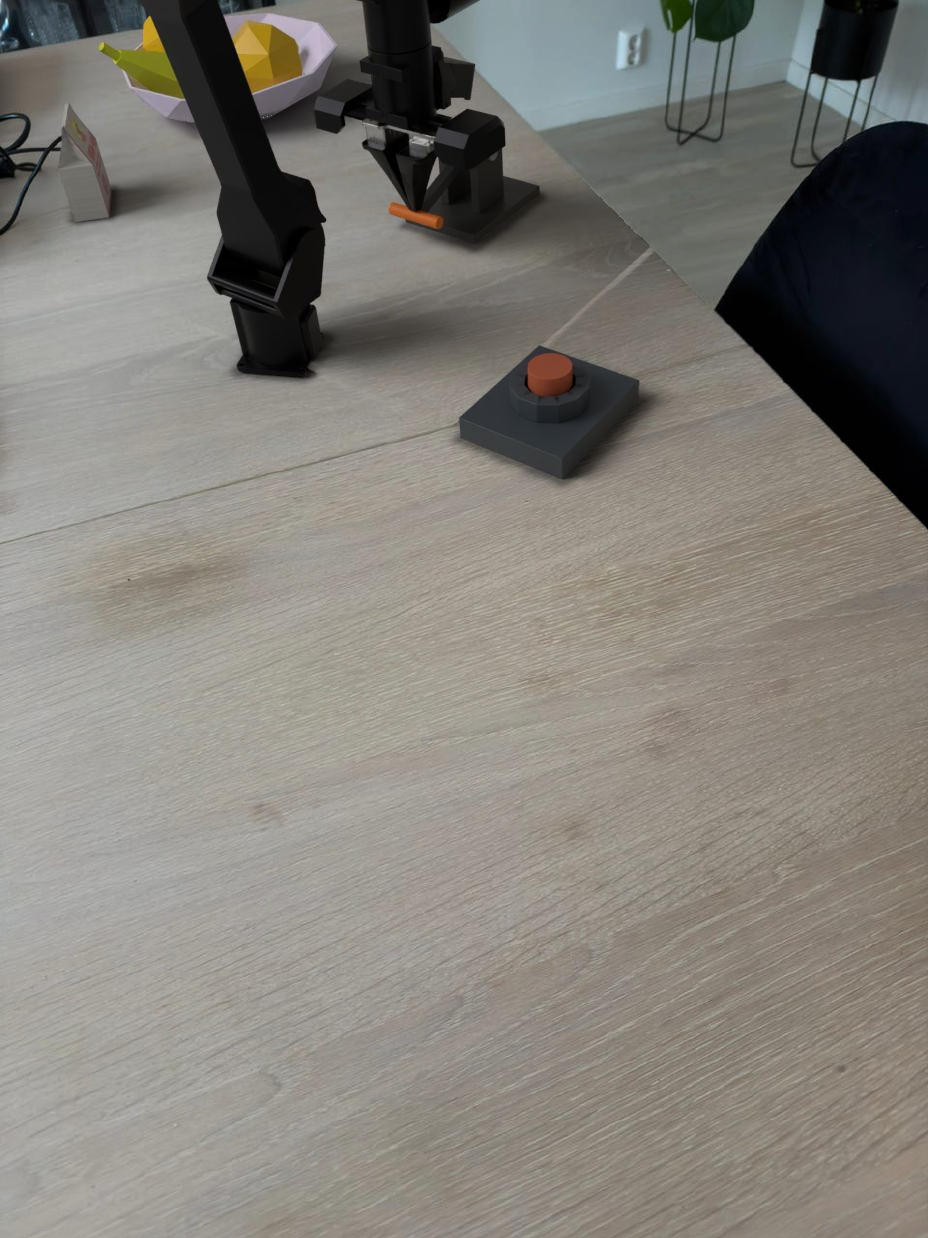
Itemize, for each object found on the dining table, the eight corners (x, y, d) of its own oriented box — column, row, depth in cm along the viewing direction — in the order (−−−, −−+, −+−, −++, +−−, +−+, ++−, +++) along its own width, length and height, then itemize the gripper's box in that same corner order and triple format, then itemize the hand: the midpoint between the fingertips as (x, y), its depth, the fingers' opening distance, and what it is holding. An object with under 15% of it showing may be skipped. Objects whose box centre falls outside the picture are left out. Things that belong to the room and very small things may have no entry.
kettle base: (475, 247, 111) (470, 163, 105) (405, 226, 115) (397, 143, 109) (539, 197, 117) (539, 114, 111) (471, 178, 121) (467, 97, 115)
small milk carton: (75, 221, 120) (44, 130, 113) (79, 193, 125) (49, 104, 117) (109, 217, 120) (80, 126, 113) (111, 188, 125) (83, 99, 118)
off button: (556, 402, 87) (556, 384, 86) (519, 388, 89) (518, 370, 88) (580, 379, 89) (581, 361, 88) (543, 365, 91) (543, 347, 89)
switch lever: (439, 236, 108) (433, 217, 106) (392, 221, 111) (385, 202, 108) (503, 153, 111) (499, 133, 109) (456, 140, 114) (450, 121, 112)
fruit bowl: (308, 45, 150) (293, -48, 142) (365, 121, 133) (353, 21, 124) (104, 86, 145) (77, -7, 136) (137, 172, 127) (107, 71, 119)
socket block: (562, 480, 86) (562, 440, 84) (460, 438, 91) (457, 399, 88) (638, 401, 93) (641, 361, 90) (539, 365, 97) (538, 326, 94)
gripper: (538, 28, 97) (539, 197, 108) (374, -5, 105) (392, 155, 116) (464, 74, 91) (474, 247, 102) (297, 35, 99) (323, 200, 110)
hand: (415, 209), depth 108 cm, fingers closed, pressing on switch lever
